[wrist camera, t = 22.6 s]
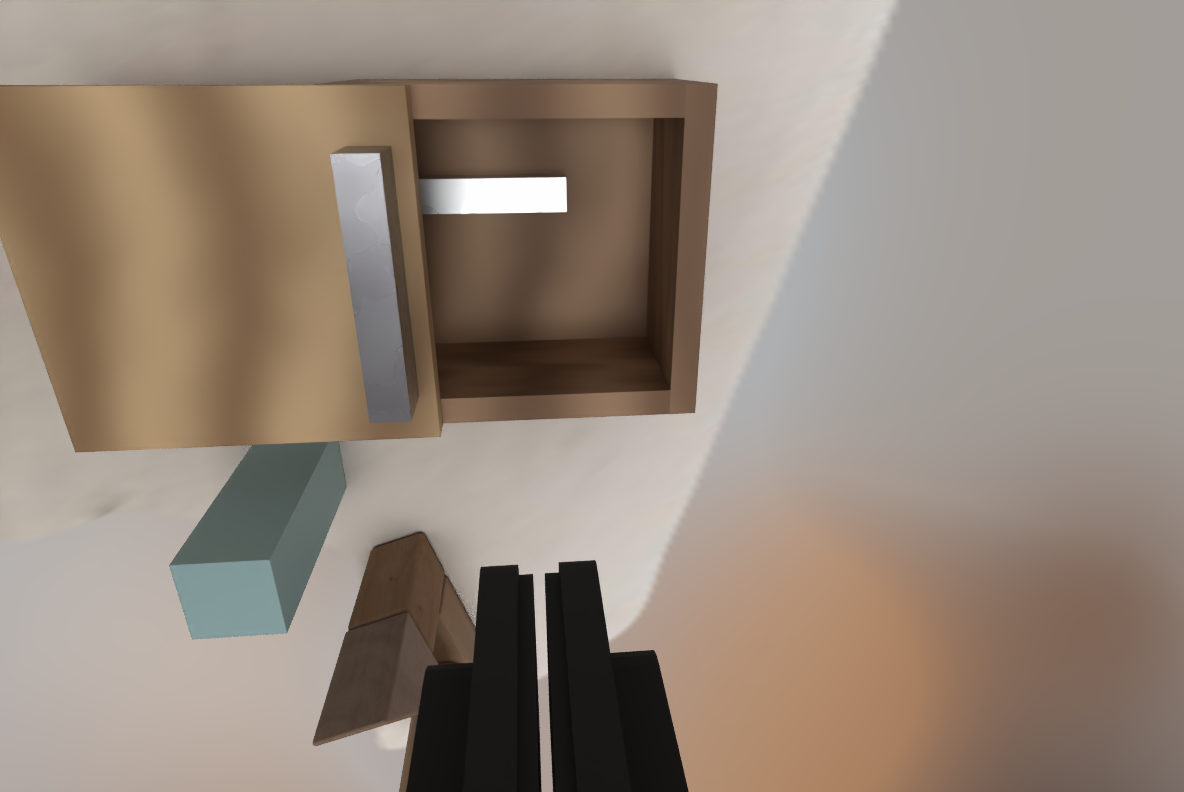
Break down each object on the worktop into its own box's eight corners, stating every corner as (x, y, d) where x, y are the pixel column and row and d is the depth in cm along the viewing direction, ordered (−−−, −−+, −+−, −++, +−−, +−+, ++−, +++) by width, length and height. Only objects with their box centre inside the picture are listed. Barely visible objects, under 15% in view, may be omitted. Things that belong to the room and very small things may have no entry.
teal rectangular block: (263, 429, 40) (168, 565, 29) (336, 426, 41) (269, 559, 30) (276, 490, 42) (192, 639, 31) (346, 486, 42) (286, 633, 31)
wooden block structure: (424, 529, 44) (369, 802, 28) (489, 650, 49) (473, 945, 32) (368, 547, 44) (281, 829, 28) (438, 666, 49) (398, 968, 33)
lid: (91, 438, 31) (40, 482, 28) (-28, 85, 25) (-110, 88, 22) (442, 424, 32) (434, 465, 29) (409, 84, 26) (393, 87, 23)
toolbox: (393, 359, 39) (364, 426, 32) (357, 79, 33) (312, 84, 26) (663, 349, 40) (694, 412, 33) (676, 79, 34) (717, 83, 27)
